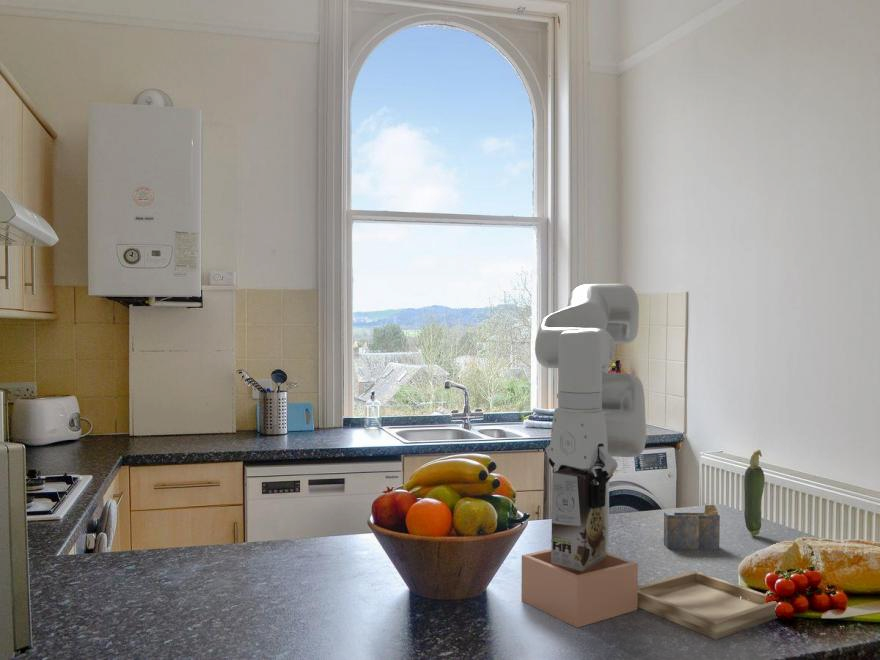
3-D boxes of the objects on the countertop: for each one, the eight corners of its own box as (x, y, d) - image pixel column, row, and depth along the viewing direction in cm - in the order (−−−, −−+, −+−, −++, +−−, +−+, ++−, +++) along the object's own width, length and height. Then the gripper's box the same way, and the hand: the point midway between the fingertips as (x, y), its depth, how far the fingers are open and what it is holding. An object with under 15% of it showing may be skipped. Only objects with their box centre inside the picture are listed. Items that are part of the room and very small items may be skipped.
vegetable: (739, 533, 175) (740, 448, 175) (754, 531, 176) (755, 447, 176) (752, 538, 171) (753, 451, 170) (768, 537, 172) (769, 450, 172)
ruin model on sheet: (734, 538, 172) (734, 496, 172) (764, 561, 156) (764, 514, 156) (625, 537, 172) (625, 495, 172) (644, 559, 156) (644, 513, 156)
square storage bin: (521, 600, 131) (521, 555, 131) (579, 585, 139) (580, 542, 139) (577, 627, 120) (577, 577, 120) (637, 609, 127) (637, 563, 127)
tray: (628, 603, 130) (628, 588, 130) (695, 584, 140) (695, 570, 140) (716, 639, 115) (716, 623, 115) (784, 615, 125) (784, 600, 125)
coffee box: (584, 572, 125) (584, 476, 124) (550, 564, 129) (550, 471, 128) (607, 557, 132) (607, 467, 131) (574, 550, 136) (574, 462, 135)
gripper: (530, 397, 135) (530, 494, 135) (600, 408, 120) (600, 516, 121) (561, 394, 139) (561, 488, 139) (633, 405, 124) (632, 509, 125)
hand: (579, 501), depth 130 cm, fingers closed on coffee box, 8 cm apart
